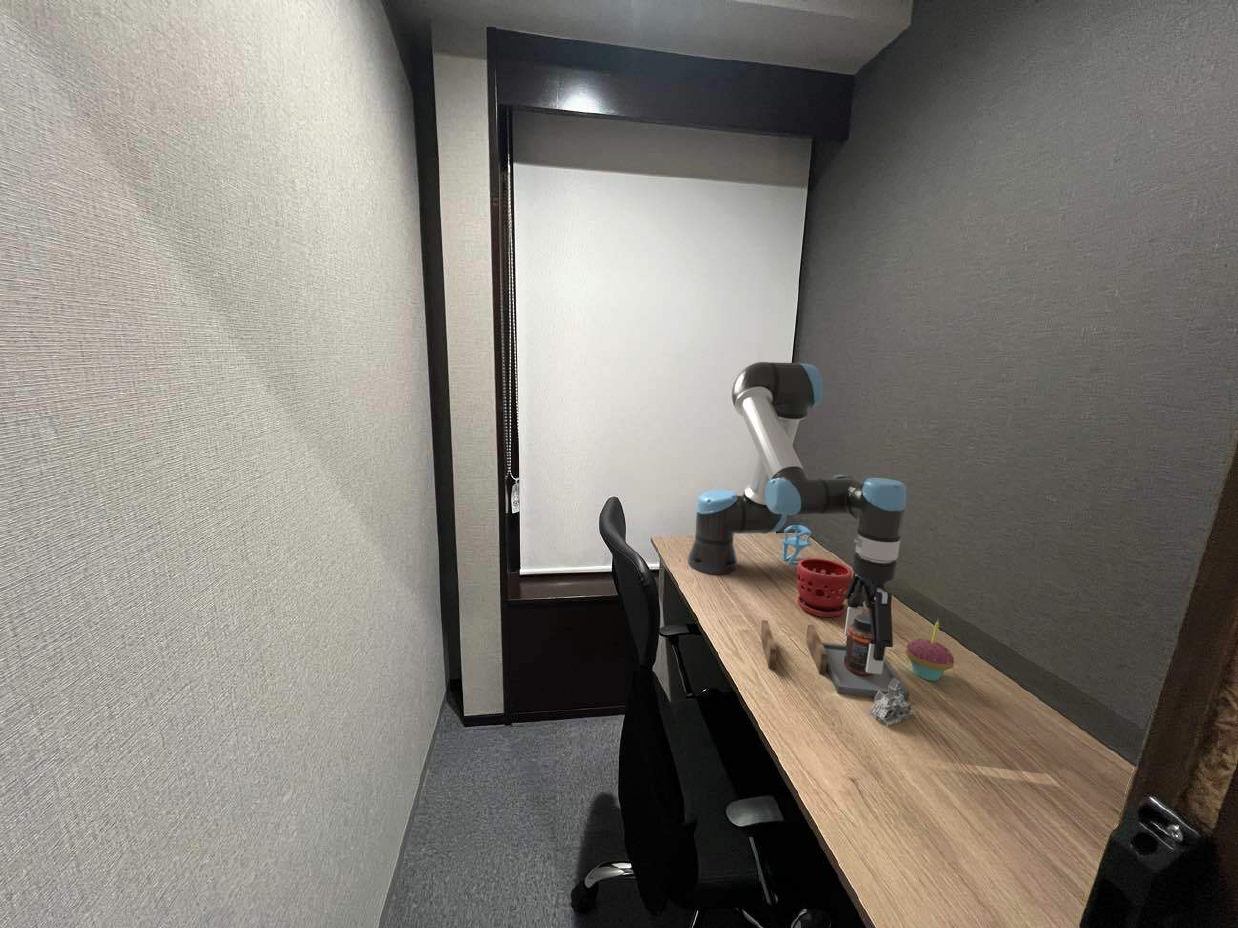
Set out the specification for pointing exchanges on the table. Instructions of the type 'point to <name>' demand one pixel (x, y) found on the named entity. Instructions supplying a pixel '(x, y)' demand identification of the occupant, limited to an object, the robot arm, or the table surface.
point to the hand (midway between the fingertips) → (861, 652)
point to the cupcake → (929, 657)
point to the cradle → (811, 641)
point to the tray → (858, 675)
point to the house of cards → (891, 706)
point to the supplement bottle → (858, 644)
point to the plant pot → (822, 586)
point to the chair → (795, 542)
